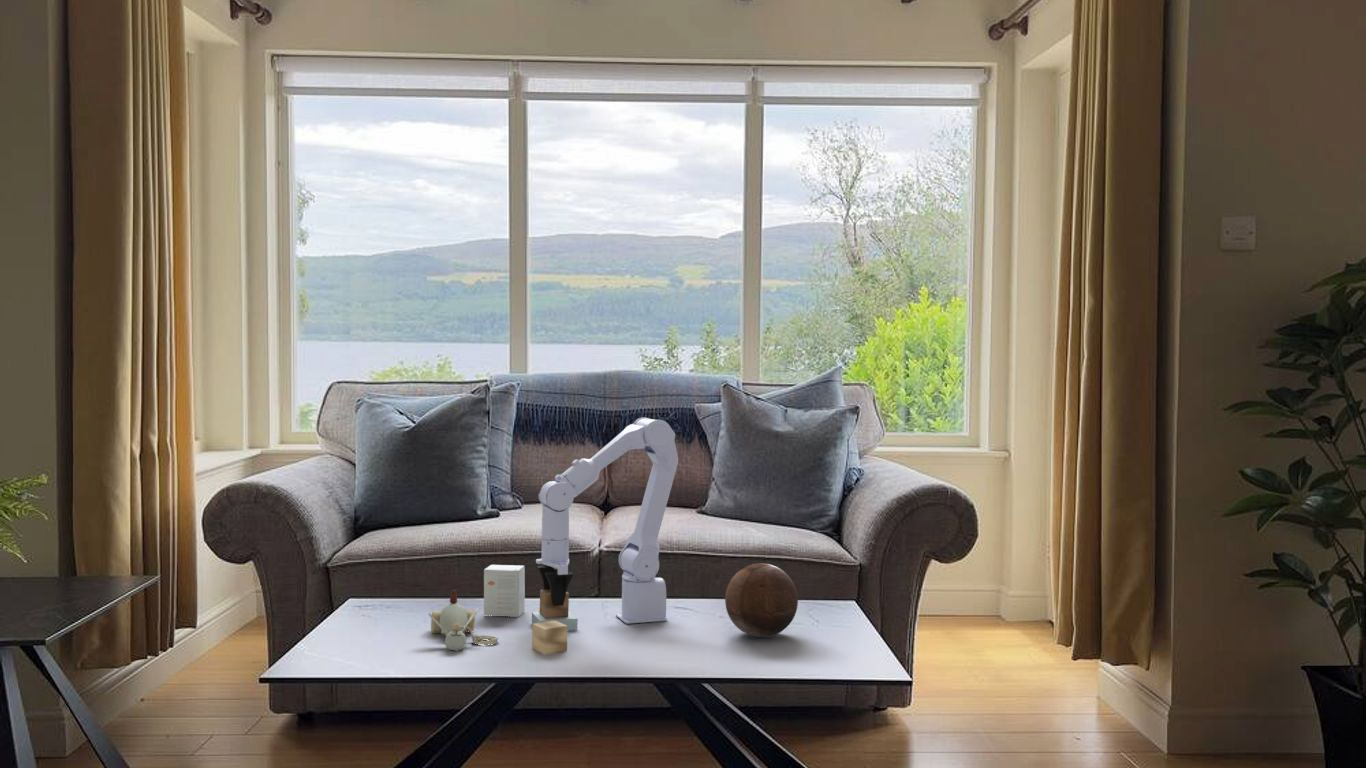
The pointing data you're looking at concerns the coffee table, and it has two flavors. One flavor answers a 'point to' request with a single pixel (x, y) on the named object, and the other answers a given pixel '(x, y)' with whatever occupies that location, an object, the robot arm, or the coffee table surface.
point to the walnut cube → (547, 607)
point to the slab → (569, 621)
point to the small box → (504, 590)
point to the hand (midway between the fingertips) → (554, 602)
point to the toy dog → (457, 625)
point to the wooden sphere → (761, 600)
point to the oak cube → (549, 637)
